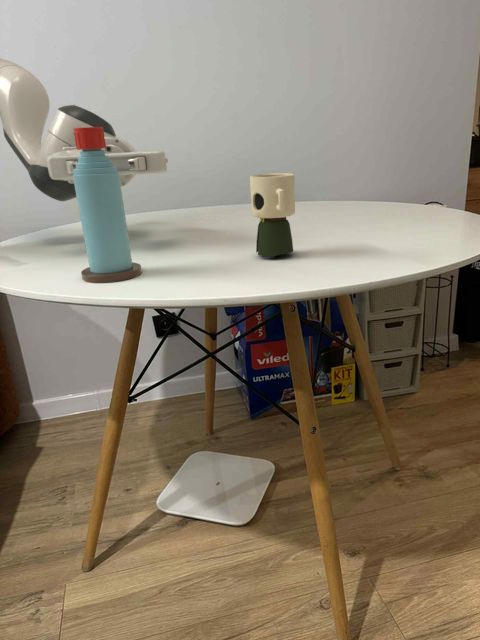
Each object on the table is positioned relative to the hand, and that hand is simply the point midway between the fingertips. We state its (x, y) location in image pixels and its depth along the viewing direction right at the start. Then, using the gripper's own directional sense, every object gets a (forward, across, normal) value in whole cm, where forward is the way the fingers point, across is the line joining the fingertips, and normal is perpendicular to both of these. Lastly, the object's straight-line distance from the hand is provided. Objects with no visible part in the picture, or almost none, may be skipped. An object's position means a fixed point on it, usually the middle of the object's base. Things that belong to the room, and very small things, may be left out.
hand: (103, 166), depth 82 cm
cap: (+12, 0, +5) cm, 13 cm away
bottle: (+12, 0, -14) cm, 18 cm away
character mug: (+8, -27, -16) cm, 32 cm away
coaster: (+12, 0, -15) cm, 19 cm away
